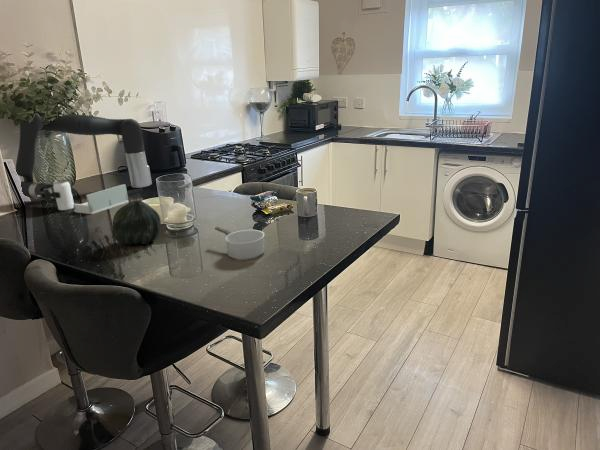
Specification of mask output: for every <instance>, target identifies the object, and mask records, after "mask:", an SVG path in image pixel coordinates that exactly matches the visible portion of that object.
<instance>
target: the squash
mask: <svg viewBox="0 0 600 450" xmlns="http://www.w3.org/2000/svg"><path fill="white" fill-rule="evenodd" d="M111 222H112V223H111V224H112V226H111V231H112V235H113V237H114V239H115V240H116V241H117V242H118V243H119V244H122V245H133V244H134V245H138V244H141V245H147V244H149V243H151V242H153V241H155V240H156V239H157V237H158V236H159V234H160V230H161V226H162V225H161V224H162V221H161V216H160V215H159V213H158V212H157V210H155V209H154V208H153V207H151V206H150V205H149V204H148V203H146V202H144V201H142V200H140V199H137V200H132V201H131V202H130V201H129V202H127V203H126V204H124V205H123V206H122V207H120V208H118V210H117V211H116V212H115V214H114V215H113V218H112V221H111Z"/></svg>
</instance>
